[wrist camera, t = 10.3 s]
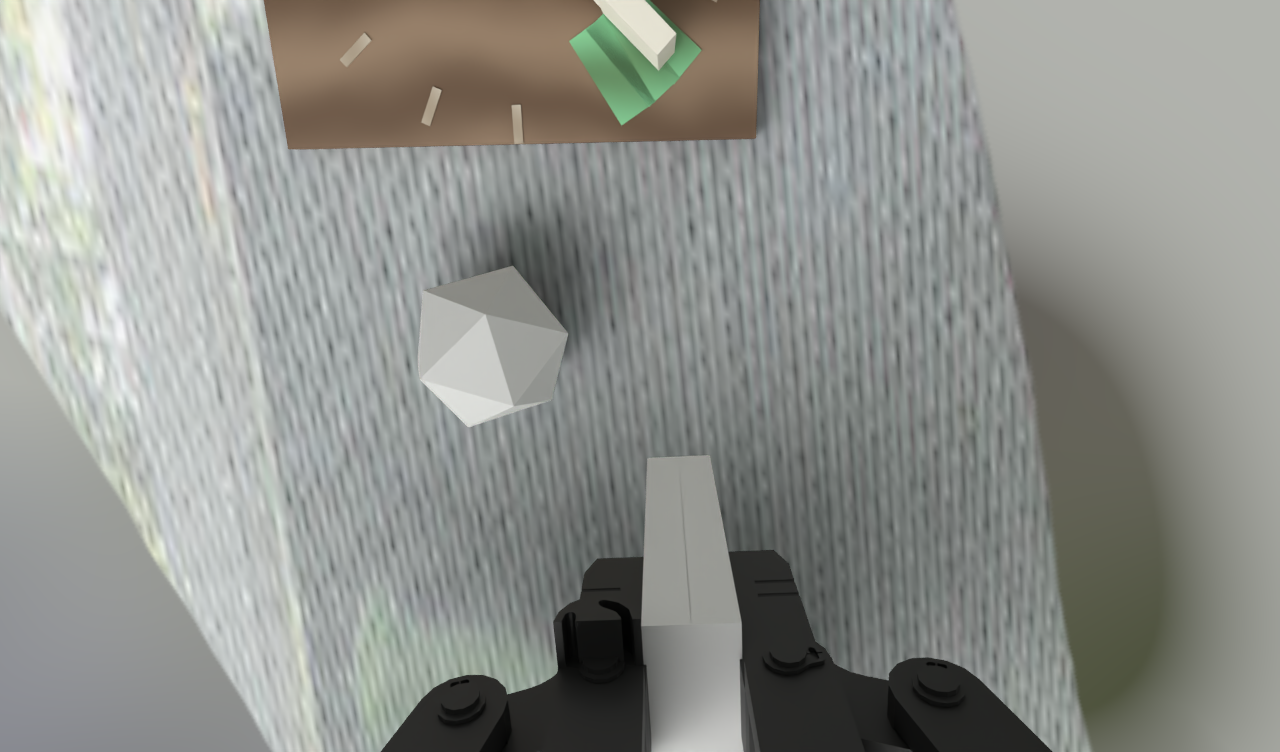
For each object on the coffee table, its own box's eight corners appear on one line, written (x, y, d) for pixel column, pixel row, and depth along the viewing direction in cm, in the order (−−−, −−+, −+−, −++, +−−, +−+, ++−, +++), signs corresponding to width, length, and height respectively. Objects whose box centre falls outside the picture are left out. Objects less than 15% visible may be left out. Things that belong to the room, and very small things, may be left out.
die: (512, 229, 42) (370, 271, 35) (616, 304, 39) (483, 365, 32) (495, 335, 47) (368, 389, 40) (586, 408, 44) (465, 481, 37)
